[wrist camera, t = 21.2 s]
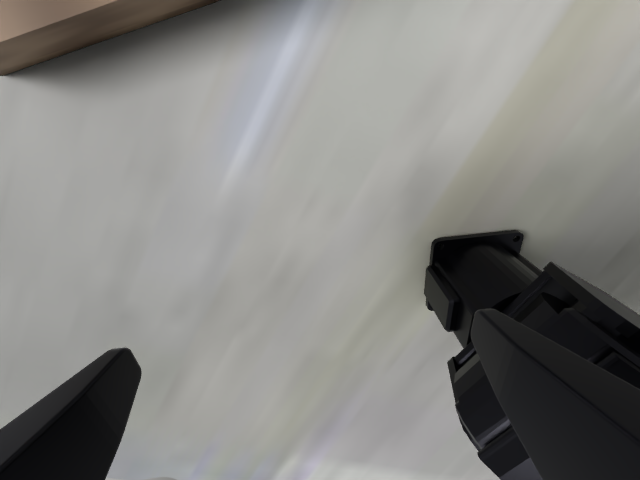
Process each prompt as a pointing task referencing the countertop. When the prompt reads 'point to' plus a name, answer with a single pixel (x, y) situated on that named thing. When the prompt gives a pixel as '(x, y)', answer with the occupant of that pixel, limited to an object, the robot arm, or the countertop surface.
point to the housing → (73, 25)
